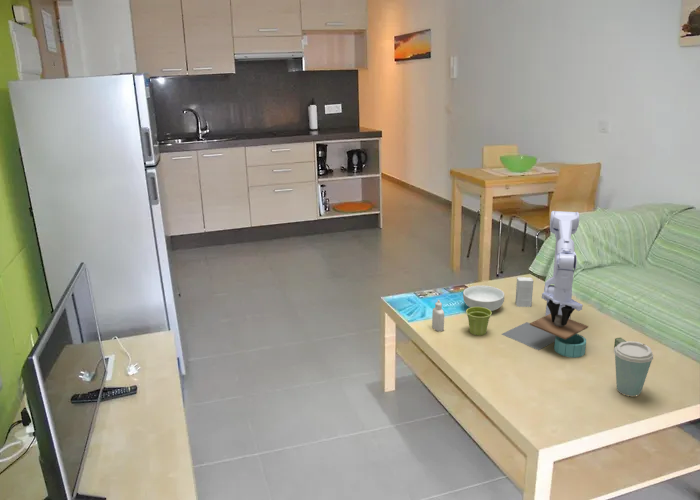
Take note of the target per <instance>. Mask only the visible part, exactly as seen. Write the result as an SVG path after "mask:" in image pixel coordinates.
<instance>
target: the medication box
mask: <svg viewBox="0 0 700 500" xmlns="http://www.w3.org/2000/svg"><path fill="white" fill-rule="evenodd" d="M626 341H627V340H626V339H625V338H623V337H616V338H614V346H613V348H615V347H616V346H617V345H618V344H620V343H621V342H626Z"/></svg>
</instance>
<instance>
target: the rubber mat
mask: <svg viewBox="0 0 700 500" xmlns="http://www.w3.org/2000/svg"><path fill="white" fill-rule="evenodd" d="M530 323H531V322H528V321H526V322H523V323H522V324H520V325H518V326H515V327H514V328H513V327H512V328H511V329H510V330H507V331H505V332H502V333H501V335H502V336H503V337H507V338H509V339H512V340H514V341H516V342H519V343H521V344H524V345H525V346H527V347H530V348H532V349H534V350H538V351H540V350H541V349H544V348H545V347H547V346H549V345H551V344H553V343H555V335H553V334H551V333H548V332H546V331H543V330H541V329H539V328H536V327H534V326H531V325H530Z"/></svg>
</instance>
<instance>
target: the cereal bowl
mask: <svg viewBox="0 0 700 500" xmlns="http://www.w3.org/2000/svg"><path fill="white" fill-rule="evenodd" d="M462 298H463V302H464V303H465V305H466V306H467V307H468V308H471V307H484V308H487V309H489V310H490V311H491V312H493V311H495V310H498V309H500V308H501V307H502V306H503V304H504V302H505V292H504V291H503V290H502V289H500V288H497V287H495V286H490V285H482V284H481V285H472V286H469V287H466V288H465V289H464V290H463V292H462Z"/></svg>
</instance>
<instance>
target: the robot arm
mask: <svg viewBox="0 0 700 500" xmlns="http://www.w3.org/2000/svg"><path fill="white" fill-rule="evenodd" d="M549 219H550V220H549V221H550V222H549V231H550V232H551V233H552V234H554V236H555V245H554V246H555V247H554V259H553V272H552V273H553V274H552V277H550V278H547V279H546V280H545V283H544V289H543V292H542V293H541V299H543V300H544V301H546V306H545V315H544V317H545V316H547V315H549V314H551V317H552V322H554V320H555V315H562V325H563V326H564V325H566V324H567V322H568V319H571V315H572V314H573V312H574V311H575V310H576V311H578V312H579V311H580V312H581V311H582V310H583V304H582V303H580V302H577V300H574V299H573V298H572V296H573V283H574V275H575V274H574V273H575V271H576V269H577V264H578V258H577V254H576V252H575V242H574V239H572V235H575V234H576V232H577V231H578V228H579V224H580V213H579V211H576V212H574V211H559V210H558V211H557V210H552V211H551V212H550V218H549Z"/></svg>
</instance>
